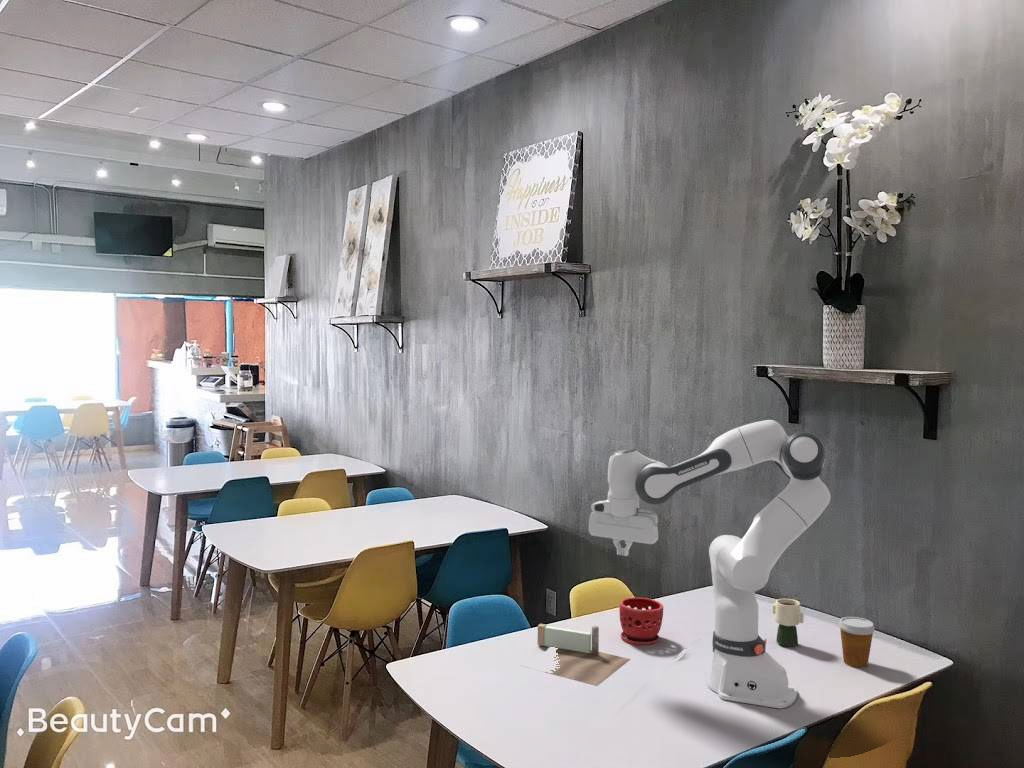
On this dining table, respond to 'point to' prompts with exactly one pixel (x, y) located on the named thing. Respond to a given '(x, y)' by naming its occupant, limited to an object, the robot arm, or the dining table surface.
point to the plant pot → (640, 620)
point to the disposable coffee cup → (856, 640)
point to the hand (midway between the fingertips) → (622, 555)
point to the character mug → (787, 620)
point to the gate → (564, 638)
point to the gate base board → (588, 663)
